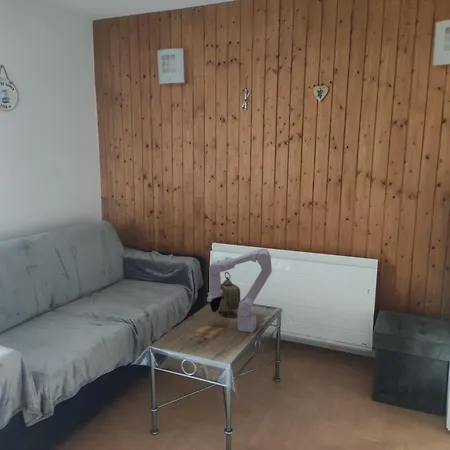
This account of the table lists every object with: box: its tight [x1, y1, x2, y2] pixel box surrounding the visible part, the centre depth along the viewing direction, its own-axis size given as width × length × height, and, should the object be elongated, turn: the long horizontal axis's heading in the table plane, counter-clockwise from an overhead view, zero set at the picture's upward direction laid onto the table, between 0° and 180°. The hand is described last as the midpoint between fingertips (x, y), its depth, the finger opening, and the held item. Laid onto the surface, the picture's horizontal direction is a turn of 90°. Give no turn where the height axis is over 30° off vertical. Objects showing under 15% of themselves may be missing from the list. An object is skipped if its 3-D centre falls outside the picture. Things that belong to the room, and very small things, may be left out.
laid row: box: [190, 330, 221, 340], centre depth 217 cm, size 14×5×1 cm, turn 66°
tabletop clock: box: [218, 271, 241, 319], centre depth 246 cm, size 14×9×25 cm, turn 25°
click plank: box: [195, 324, 228, 336], centre depth 223 cm, size 14×8×1 cm, turn 66°
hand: (215, 311), depth 225 cm, fingers closed
